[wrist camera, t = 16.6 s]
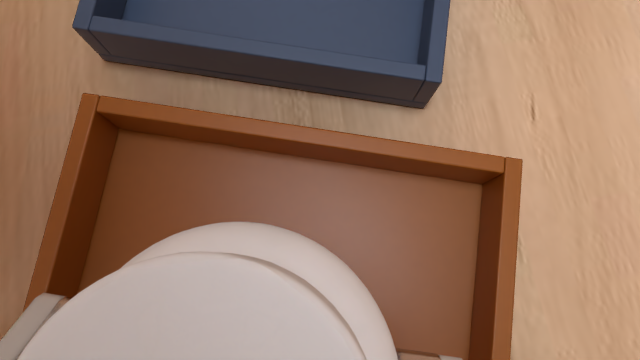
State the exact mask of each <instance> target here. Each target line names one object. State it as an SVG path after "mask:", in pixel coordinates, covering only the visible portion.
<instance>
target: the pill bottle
mask: <svg viewBox="0 0 640 360" xmlns="http://www.w3.org/2000/svg"><path fill="white" fill-rule="evenodd" d="M18 360H398V358H397V353H396V349H395V346H394V343H393V339H392V336H391V333H390V331H389V328H388V326H387V324H386V321H385V319H384V317H383V315H382V313H381V311H380V309H379V307H378V305H377V303H376V302H375V300H374V298H373V297H372V295H371V294H370V292H369V291H368V289H367V288H366V286H365V285H364V284H363V283H362V281H361V280H360V279H359V278H358V276H357V275H356V274H355V273H354V272H353V271H352V270H351V269H350V268H349V267H348V266H347V265H346V264H345V263H344V262H343V261H342V260H341V259H339V258H338V257H337V256H336V255H334V254H333V253H332V252H330V251H329V250H327V249H326V248H325V247H323V246H321V245H320V244H318V243H316V242H315V241H313V240H311V239H309V238H307V237H305V236H303V235H301V234H298V233H296V232H293V231H290V230H287V229H284V228H280V227H277V226H273V225H269V224H263V223H254V222H222V223H215V224H208V225H204V226H200V227H195V228H192V229H189V230H185V231H182V232H179V233H177V234H174V235H172V236H169V237H167V238H165V239H163V240H161V241H159V242H157V243H155V244H153V245H152V246H150V247H149V248H147V249H145V250H144V251H142V252H141V253H139V254H138V255H136V256H135V257H134V258H132V259H131V260H130V261H129V262H127V263H126V264H125V265H123V266H122V267H121V268H120V269H119V270H117V271H115V272H113V273H111V274H109V275H107V276H105V277H103V278H102V279H100V280H98V281H96V282H95V283H93V284H92V285H90V286H88V287H87V288H85V289H84V290H82V291H81V292H79V293H78V294H77V295H75V296H74V297H73V298H72V299H70V300H69V301H68V302H67V303H66V304H64V305H63V306H62V307H61V308H60V309H59V310H58V311H57V312H56V313H55V314H54V315H53V316H52V317H51V318H49V320H48V321H47V322H46V323H45V324H44V325H43V326H42V327H41V328H40V330H39V331H38V332H37V333H36V334H35V336H34V337H33V338H32V339H31V341H30V342H29V343H28V344H27V346H26V347H25V349H24V350H23V352H22V353H21V355H20V356H19V358H18Z"/></svg>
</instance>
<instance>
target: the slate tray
mask: <svg viewBox="0 0 640 360" xmlns="http://www.w3.org/2000/svg"><path fill="white" fill-rule="evenodd" d="M449 8H450V0H80V1H79V5H78V8H77V12H76V15H75V19H74V22H73V25H72V26H73V28H74V30H75V31H76V32H77V33H78V34H79V35H80V36H81V37H82V38H83V39H84V40H85V41H86V42H87V43H88V44H89V45H90V46H91V47H92V48H93V49H94V50H95V51H96V52H97V53H99V55H100V56H101V57H102V58H103V59H104V60H106V61H113V62H119V63H126V64H132V65H139V66H146V67H152V68H159V69H166V70H172V71H179V72H185V73H192V74H199V75H205V76H212V77H218V78H225V79H232V80H238V81H245V82H251V83H258V84H265V85H271V86H278V87H285V88H291V89H298V90H304V91H311V92H318V93H324V94H331V95H337V96H344V97H351V98H357V99H364V100H371V101H377V102H384V103H390V104H397V105H404V106H410V107H417V108H424V107H425V106H426V104H427V103H428V101H429V100H430V98H431V97H432V96H433V94H434V93H435V91H436V90H437V88H438V87H439V85H440V84H441V82H442V75H443V65H444V56H445V46H446V36H447V27H448V17H449Z"/></svg>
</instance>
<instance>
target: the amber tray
mask: <svg viewBox="0 0 640 360" xmlns="http://www.w3.org/2000/svg"><path fill="white" fill-rule="evenodd" d="M522 162H523V161H522V160H521V159H516V158H509V157H505V158H504V157H502V156H495V155H489V154H482V153H475V152H469V151H462V150H456V149H449V148H443V147H436V146H429V145H423V144H416V143H410V142H403V141H396V140H390V139H383V138H377V137H370V136H364V135H357V134H350V133H344V132H337V131H331V130H324V129H318V128H311V127H304V126H298V125H291V124H285V123H278V122H271V121H265V120H258V119H252V118H245V117H239V116H232V115H225V114H219V113H212V112H206V111H199V110H193V109H186V108H179V107H173V106H166V105H160V104H153V103H147V102H140V101H133V100H127V99H120V98H114V97H107V96H99V95H94V94H87V93H83V95H82V98H81V102H80V105H79V109H78V113H77V116H76V120H75V124H74V127H73V131H72V135H71V138H70V142H69V145H68V149H67V153H66V156H65V160H64V164H63V167H62V171H61V175H60V178H59V182H58V185H57V189H56V193H55V196H54V200H53V204H52V207H51V211H50V215H49V218H48V222H47V226H46V229H45V233H44V236H43V240H42V244H41V247H40V251H39V255H38V258H37V262H36V266H35V269H34V273H33V276H32V280H31V284H30V287H29V291H28V295H27V298H26V302H25V306H24V309H23V312H24V311H25V310H26V308H27V307H28V306H29V305H30V304H31V302H32V301H33V300H34V299H35V298H36V297H37V296H39V295H41V294H42V293H49V294H55V295H61V296H67V297H72V298H73V297H74V296H75V295H77V294H78V293H79V292H81V291H82V290H84V289H85V288H87V287H88V286H90V285H92V284H93V283H95V282H96V281H98V280H100V279H102V278H103V277H105V276H107V275H109V274H111V273H113V272H115V271H117V270H119V269H120V268H121V267H122V266H123V265H125V264H126V263H127V262H129V261H130V260H131V259H132V258H134V257H135V256H136V255H138V254H139V253H141V252H142V251H144V250H145V249H147V248H149V247H150V246H152V245H153V244H155V243H157V242H159V241H161V240H163V239H165V238H167V237H169V236H172V235H174V234H177V233H179V232H182V231H185V230H189V229H192V228H195V227H200V226H204V225H208V224H215V223H222V222H254V223H263V224H269V225H273V226H277V227H280V228H284V229H287V230H290V231H293V232H296V233H298V234H301V235H303V236H305V237H307V238H309V239H311V240H313V241H315V242H316V243H318V244H320V245H321V246H323V247H325V248H326V249H327V250H329V251H330V252H332V253H333V254H334V255H336V256H337V257H338V258H339V259H341V260H342V261H343V262H344V263H345V264H346V265H347V266H348V267H349V268H350V269H351V270H352V271H353V272H354V273H355V274H356V275H357V276H358V278H359V279H360V280H361V281H362V283H363V284H364V285H365V286H366V288H367V289H368V291H369V292H370V294H371V295H372V297H373V298H374V300H375V302H376V303H377V305H378V307H379V309H380V311H381V313H382V315H383V317H384V319H385V321H386V324H387V326H388V328H389V331H390V333H391V336H392V339H393V343H394V346H395V348H400V349H407V350H414V351H421V352H428V353H436V354H437V355H444V356H451V357H459V358H462V360H510V352H511V336H512V320H513V304H514V288H515V273H516V257H517V241H518V225H519V209H520V193H521V178H522Z"/></svg>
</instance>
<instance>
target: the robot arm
mask: <svg viewBox="0 0 640 360" xmlns="http://www.w3.org/2000/svg"><path fill="white" fill-rule="evenodd" d="M70 299H72V297H67V296H61V295H55V294H49V293H42V294H41V295H39V296H37V297H36V298H35V299H34V300H33V301H32V302H31V304H30V305H29V306H28V307H27V308H26V310H25V311H24V312H23V313H22V315H21V316H20V317H19V318H18V319H17V321H16V322H15V323H14V324H13V326H12V327H11V328H10V329H9V330H8V332H7V333H6V334H5V335H4V337H3V338H2V339H1V340H0V360H18V358H19V356H20V355H21V353H22V352H23V350H24V349H25V347H26V346H27V344H28V343H29V342H30V341H31V339H32V338H33V337H34V336H35V334H36V333H37V332H38V331H39V330H40V328H41V327H42V326H43V325H44V324H45V323H46V322H47V321H48V320H49V318H51V317H52V316H53V315H54V314H55V313H56V312H57V311H58V310H59V309H60V308H61V307H62V306H63V305H64V304H66V303H67V302H68V301H69V300H70ZM395 349H396V353H397V358H398V360H462V358H459V357H451V356H444V355H437V354H436V353H428V352H421V351H414V350H407V349H400V348H395Z"/></svg>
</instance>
